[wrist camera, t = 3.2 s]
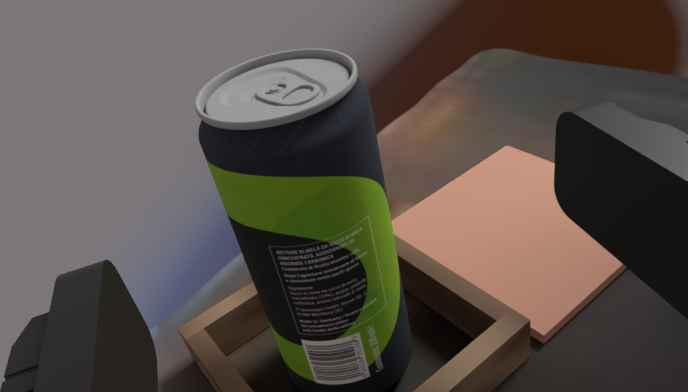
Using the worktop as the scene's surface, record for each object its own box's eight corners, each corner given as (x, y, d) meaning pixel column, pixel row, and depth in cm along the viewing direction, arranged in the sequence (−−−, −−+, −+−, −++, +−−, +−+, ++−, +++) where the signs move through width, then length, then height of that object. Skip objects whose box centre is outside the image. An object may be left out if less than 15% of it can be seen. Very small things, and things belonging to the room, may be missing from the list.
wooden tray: (367, 245, 35) (360, 213, 33) (530, 356, 26) (530, 319, 25) (194, 360, 30) (177, 328, 28) (325, 544, 21) (310, 512, 20)
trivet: (506, 152, 40) (506, 145, 40) (679, 219, 32) (681, 211, 31) (379, 237, 35) (378, 229, 35) (543, 344, 27) (544, 335, 26)
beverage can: (438, 340, 28) (399, 54, 19) (362, 440, 24) (275, 143, 16) (342, 296, 32) (275, 38, 23) (265, 376, 28) (151, 108, 19)
